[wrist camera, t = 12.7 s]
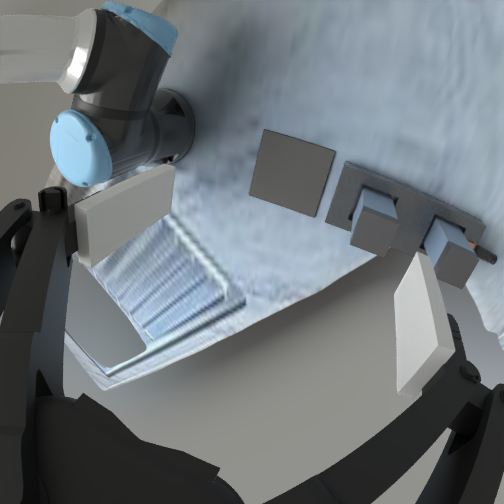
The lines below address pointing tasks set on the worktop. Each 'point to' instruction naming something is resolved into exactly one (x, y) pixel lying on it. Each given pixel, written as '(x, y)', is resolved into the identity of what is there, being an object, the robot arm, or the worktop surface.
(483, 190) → the worktop surface
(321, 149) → the mat
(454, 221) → the strip
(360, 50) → the worktop surface
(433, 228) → the twin plug
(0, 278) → the robot arm
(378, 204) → the plug
